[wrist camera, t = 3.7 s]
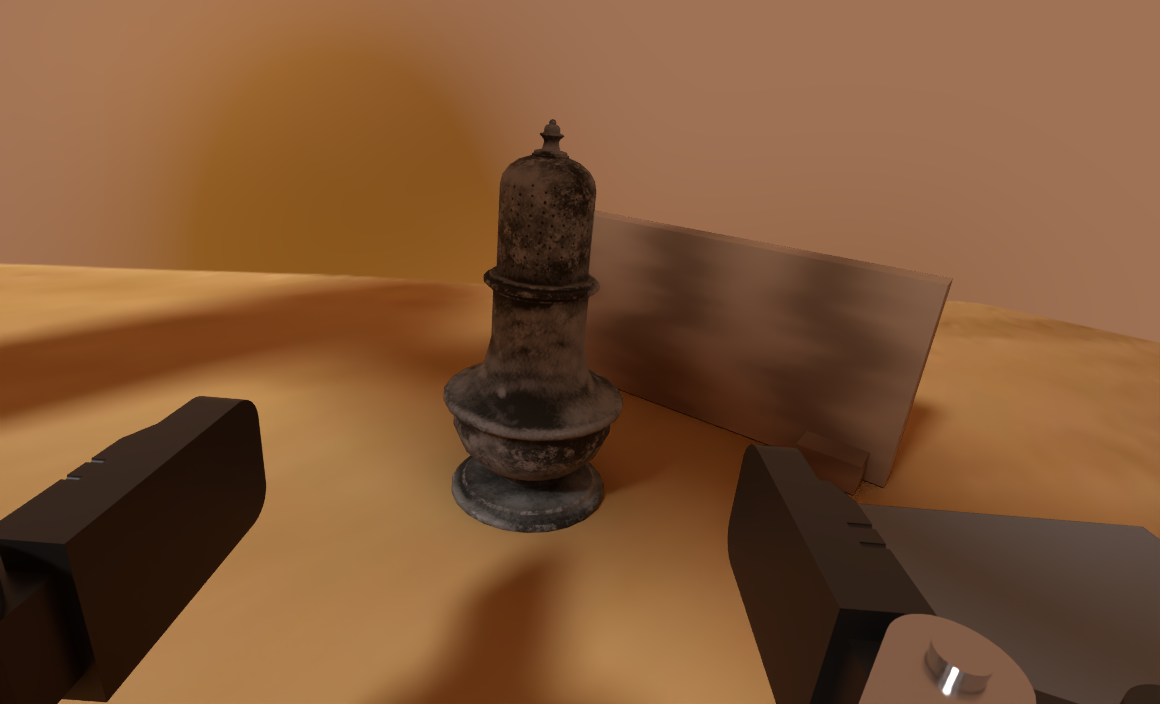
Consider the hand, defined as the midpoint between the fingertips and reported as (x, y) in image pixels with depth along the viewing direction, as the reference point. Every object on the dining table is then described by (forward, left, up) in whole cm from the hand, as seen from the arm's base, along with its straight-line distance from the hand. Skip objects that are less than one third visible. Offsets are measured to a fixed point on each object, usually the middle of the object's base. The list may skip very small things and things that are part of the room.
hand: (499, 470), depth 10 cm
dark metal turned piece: (0, +10, -7) cm, 12 cm away
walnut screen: (+6, +18, -7) cm, 20 cm away
